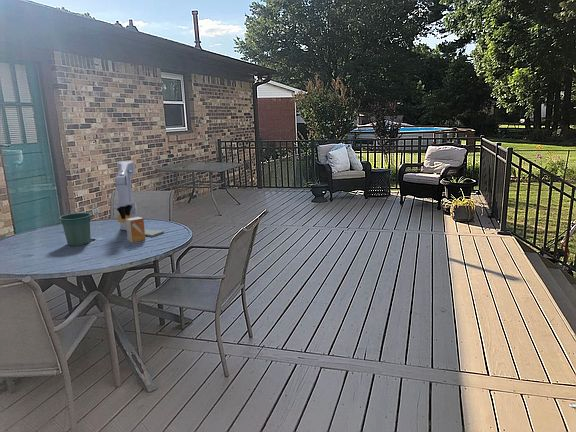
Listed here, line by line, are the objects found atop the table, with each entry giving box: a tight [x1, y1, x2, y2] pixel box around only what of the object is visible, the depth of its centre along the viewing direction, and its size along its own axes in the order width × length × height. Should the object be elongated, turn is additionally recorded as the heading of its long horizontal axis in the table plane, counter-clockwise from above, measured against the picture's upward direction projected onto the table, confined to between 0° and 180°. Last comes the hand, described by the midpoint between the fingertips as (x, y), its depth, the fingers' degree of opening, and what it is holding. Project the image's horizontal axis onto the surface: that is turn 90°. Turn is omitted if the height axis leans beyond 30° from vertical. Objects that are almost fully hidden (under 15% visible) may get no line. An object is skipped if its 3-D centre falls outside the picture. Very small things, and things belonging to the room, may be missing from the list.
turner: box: [117, 214, 134, 223], centre depth 265 cm, size 15×7×4 cm, turn 66°
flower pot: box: [59, 212, 92, 247], centre depth 251 cm, size 16×16×16 cm
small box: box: [126, 216, 146, 243], centre depth 254 cm, size 8×6×13 cm
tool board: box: [144, 228, 165, 238], centre depth 270 cm, size 20×10×1 cm, turn 65°
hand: (125, 218), depth 266 cm, fingers closed on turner, 3 cm apart
